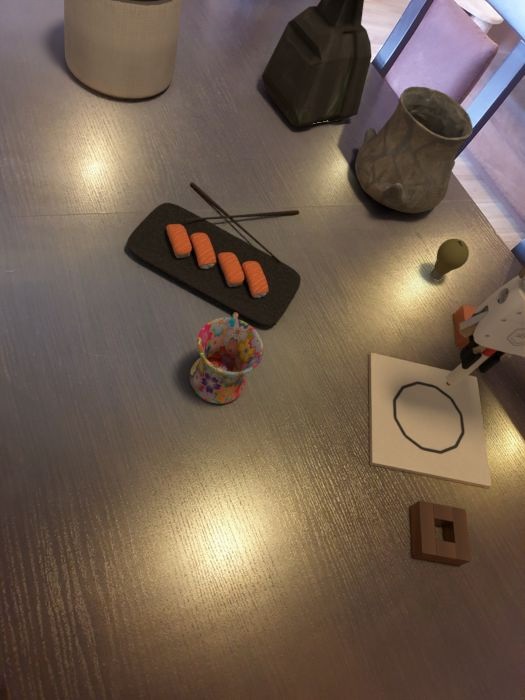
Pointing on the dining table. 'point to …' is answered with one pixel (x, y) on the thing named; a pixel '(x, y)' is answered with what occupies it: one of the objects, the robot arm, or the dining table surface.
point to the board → (426, 422)
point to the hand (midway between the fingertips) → (472, 362)
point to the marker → (461, 374)
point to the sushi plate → (217, 260)
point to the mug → (225, 359)
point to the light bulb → (449, 257)
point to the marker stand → (454, 532)
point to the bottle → (320, 63)
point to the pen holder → (458, 317)
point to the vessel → (413, 151)
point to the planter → (122, 45)
